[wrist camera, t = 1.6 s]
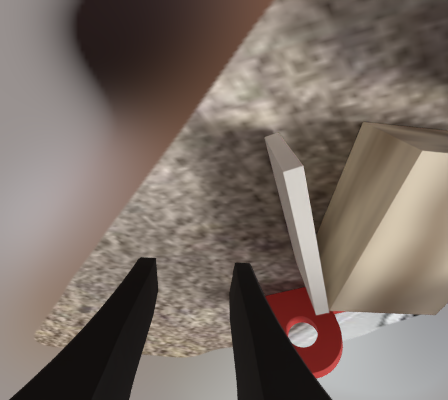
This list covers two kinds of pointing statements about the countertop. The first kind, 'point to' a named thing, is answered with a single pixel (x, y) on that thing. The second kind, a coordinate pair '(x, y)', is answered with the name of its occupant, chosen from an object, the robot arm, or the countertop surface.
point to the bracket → (324, 324)
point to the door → (298, 217)
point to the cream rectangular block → (389, 224)
